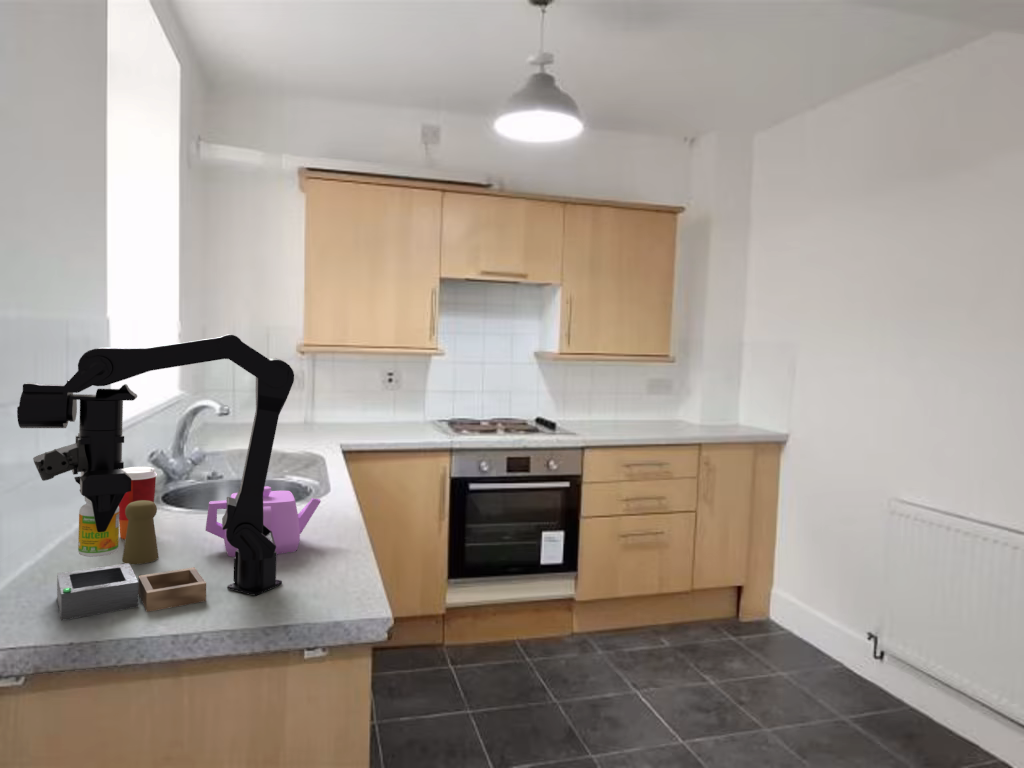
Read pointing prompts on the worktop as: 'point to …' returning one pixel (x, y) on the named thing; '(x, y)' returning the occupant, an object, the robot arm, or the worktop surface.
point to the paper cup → (137, 492)
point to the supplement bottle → (96, 533)
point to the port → (96, 591)
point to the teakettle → (270, 519)
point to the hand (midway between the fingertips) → (99, 526)
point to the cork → (140, 533)
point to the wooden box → (171, 589)
